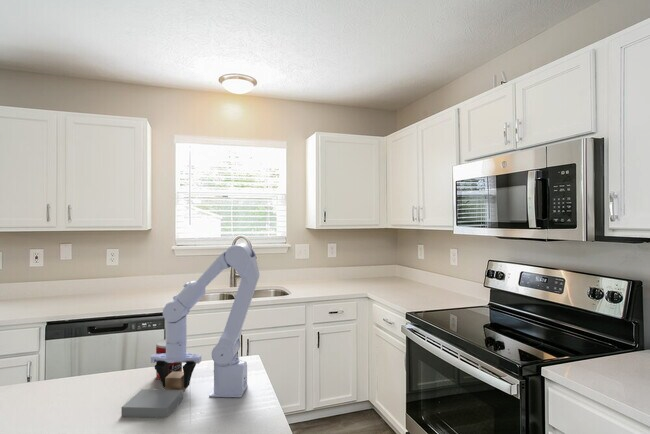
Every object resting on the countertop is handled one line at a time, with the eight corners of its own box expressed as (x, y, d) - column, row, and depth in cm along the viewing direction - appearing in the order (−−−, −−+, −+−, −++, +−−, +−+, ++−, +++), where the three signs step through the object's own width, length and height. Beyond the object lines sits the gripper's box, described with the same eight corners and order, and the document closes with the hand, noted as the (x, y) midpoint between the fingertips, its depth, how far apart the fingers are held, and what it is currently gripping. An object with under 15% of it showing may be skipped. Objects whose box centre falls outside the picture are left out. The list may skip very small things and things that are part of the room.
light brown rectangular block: (186, 388, 113) (186, 371, 113) (180, 395, 108) (180, 378, 108) (172, 387, 113) (172, 371, 113) (165, 394, 108) (165, 377, 108)
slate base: (183, 398, 106) (183, 389, 106) (166, 417, 96) (166, 407, 96) (141, 397, 106) (141, 389, 106) (121, 416, 96) (121, 407, 96)
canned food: (173, 381, 117) (173, 347, 117) (150, 379, 118) (150, 345, 118) (186, 372, 124) (186, 339, 124) (165, 370, 126) (165, 337, 126)
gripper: (145, 345, 107) (145, 392, 107) (195, 345, 106) (195, 393, 106) (157, 337, 114) (157, 381, 114) (204, 337, 113) (203, 382, 113)
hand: (176, 386), depth 111 cm, fingers open, 6 cm apart
